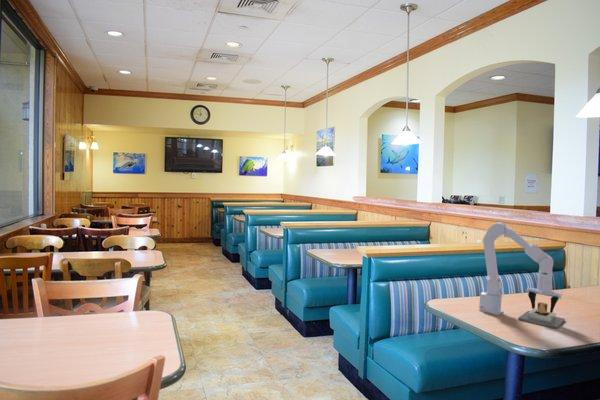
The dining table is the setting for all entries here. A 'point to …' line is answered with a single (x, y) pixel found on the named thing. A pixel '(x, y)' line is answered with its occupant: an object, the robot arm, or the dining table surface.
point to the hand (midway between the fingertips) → (542, 310)
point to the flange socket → (542, 319)
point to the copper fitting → (542, 308)
